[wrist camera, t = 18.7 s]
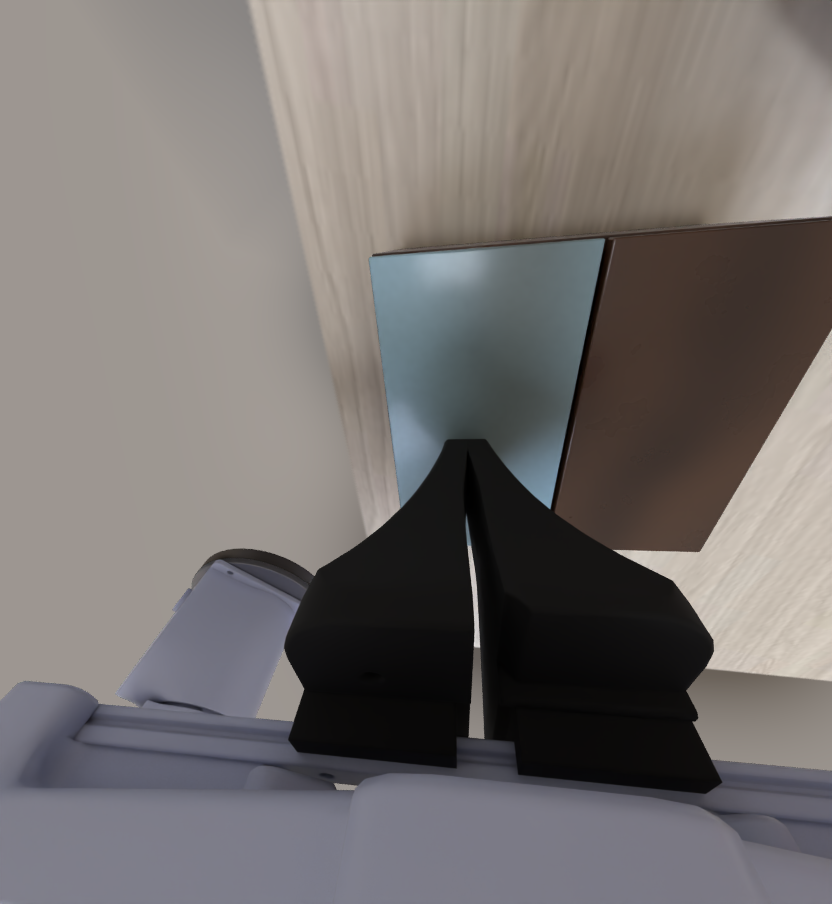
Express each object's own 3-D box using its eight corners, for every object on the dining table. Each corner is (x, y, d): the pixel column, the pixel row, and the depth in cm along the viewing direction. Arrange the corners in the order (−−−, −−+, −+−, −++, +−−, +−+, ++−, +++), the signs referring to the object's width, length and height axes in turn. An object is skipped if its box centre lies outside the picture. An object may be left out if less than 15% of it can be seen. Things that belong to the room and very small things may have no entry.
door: (406, 537, 14) (405, 544, 14) (371, 256, 9) (367, 257, 8) (540, 540, 14) (542, 547, 13) (599, 238, 8) (606, 237, 8)
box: (417, 458, 20) (403, 545, 14) (400, 249, 14) (364, 255, 8) (625, 457, 18) (701, 553, 13) (703, 224, 12) (906, 211, 7)
